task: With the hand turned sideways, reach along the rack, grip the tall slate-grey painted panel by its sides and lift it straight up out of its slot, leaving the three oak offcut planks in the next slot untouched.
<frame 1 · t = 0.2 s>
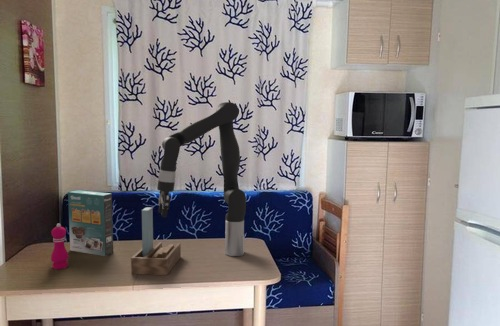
hand: (162, 215, 187), 23 cm above the table, tool pointing down, fingers open, 8 cm apart
offcuts: (163, 264, 188), resting in rack
rack: (158, 264, 188), on the table
pepper mill: (60, 267, 183), on the table
panel: (148, 263, 188), resting in rack
cake mix box: (91, 251, 205), on the table
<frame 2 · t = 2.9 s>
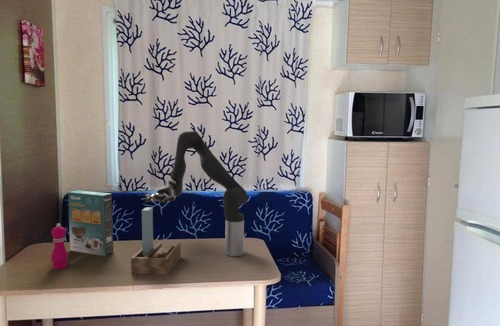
hand: (156, 200, 198), 27 cm above the table, tool horizontal, fingers open, 8 cm apart
nothing on the table moved.
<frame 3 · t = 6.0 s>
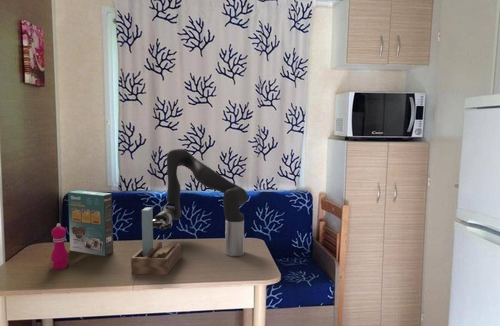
hand: (152, 228, 194), 15 cm above the table, tool horizontal, fingers open, 8 cm apart
nothing on the table moved.
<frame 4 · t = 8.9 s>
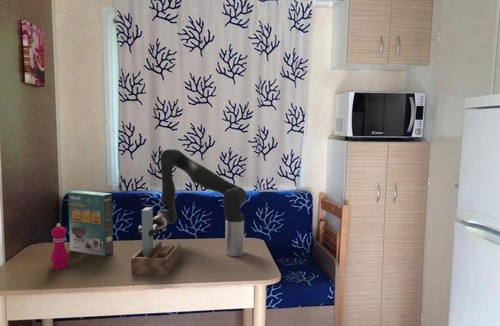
hand: (145, 234, 184), 15 cm above the table, tool horizontal, fingers closed on panel, 3 cm apart
panel: (148, 263, 188), resting in rack, touching gripper
everything else where it was.
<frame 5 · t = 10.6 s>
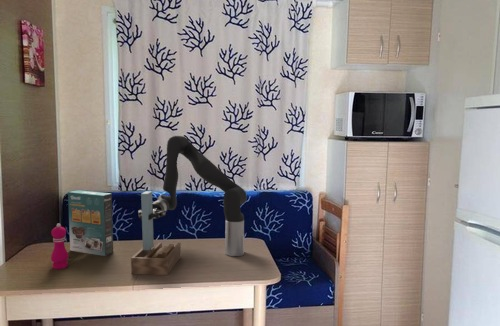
hand: (145, 217, 183), 23 cm above the table, tool horizontal, fingers closed on panel, 3 cm apart
panel: (148, 248, 187), point 8 cm above the table, touching gripper
everything else where it was.
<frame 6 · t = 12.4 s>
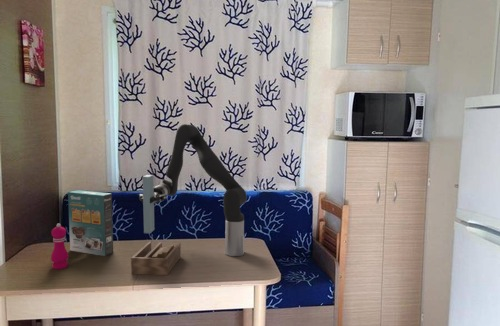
hand: (146, 200, 183), 30 cm above the table, tool horizontal, fingers closed on panel, 3 cm apart
panel: (149, 231, 188), point 15 cm above the table, touching gripper
everything else where it was.
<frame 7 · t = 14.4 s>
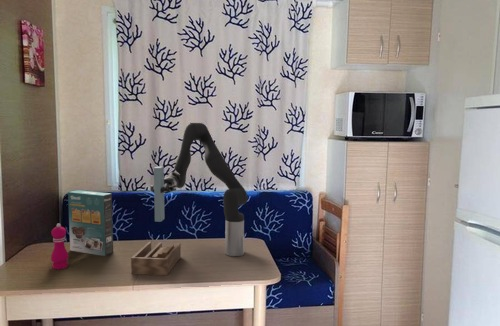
hand: (157, 190, 194), 33 cm above the table, tool horizontal, fingers closed on panel, 3 cm apart
panel: (159, 220, 198), point 18 cm above the table, touching gripper
everything else where it was.
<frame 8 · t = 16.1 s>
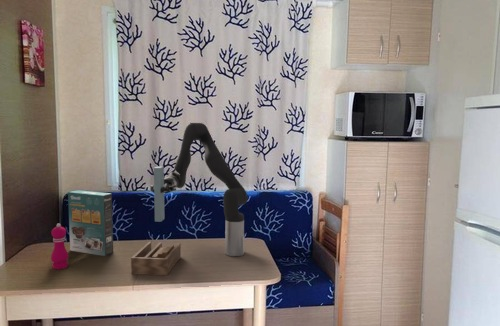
hand: (157, 190, 194), 33 cm above the table, tool horizontal, fingers closed on panel, 3 cm apart
panel: (159, 220, 198), point 18 cm above the table, touching gripper
everything else where it was.
at the end: panel point 17.8 cm above the table; the gripper is holding panel; offcuts moved 0.1 cm from its start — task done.
